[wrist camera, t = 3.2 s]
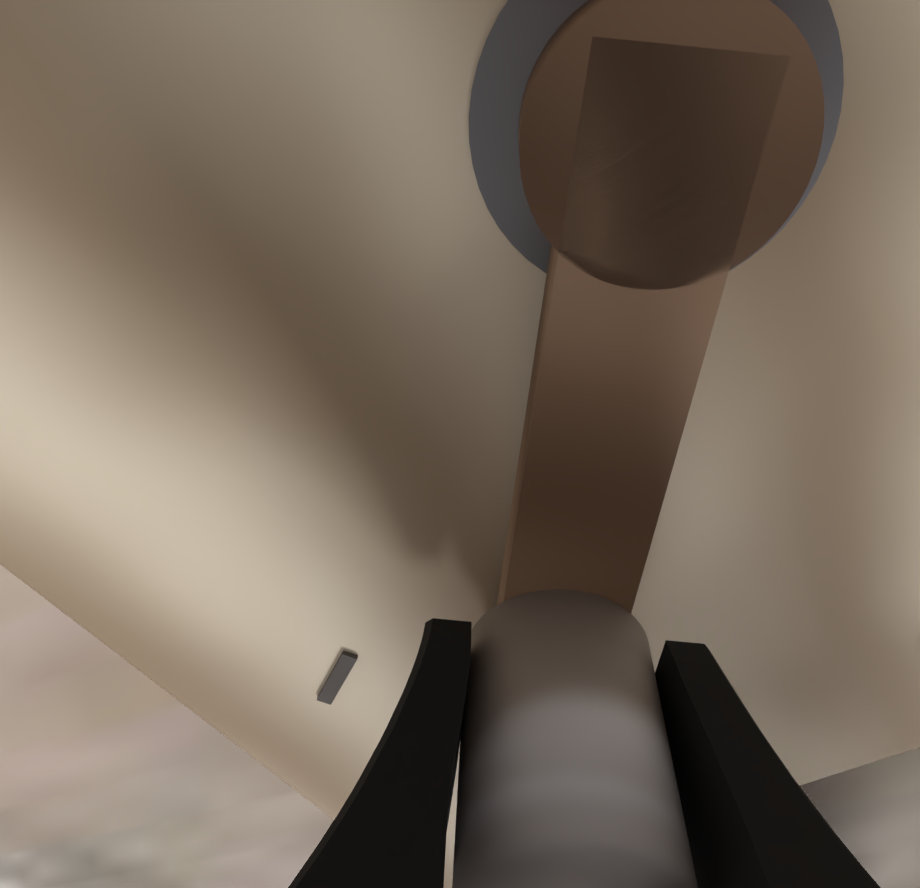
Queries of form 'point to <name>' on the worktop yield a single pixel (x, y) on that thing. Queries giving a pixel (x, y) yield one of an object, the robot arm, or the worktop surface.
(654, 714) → the lever
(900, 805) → the worktop surface
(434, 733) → the robot arm
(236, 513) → the dial board
